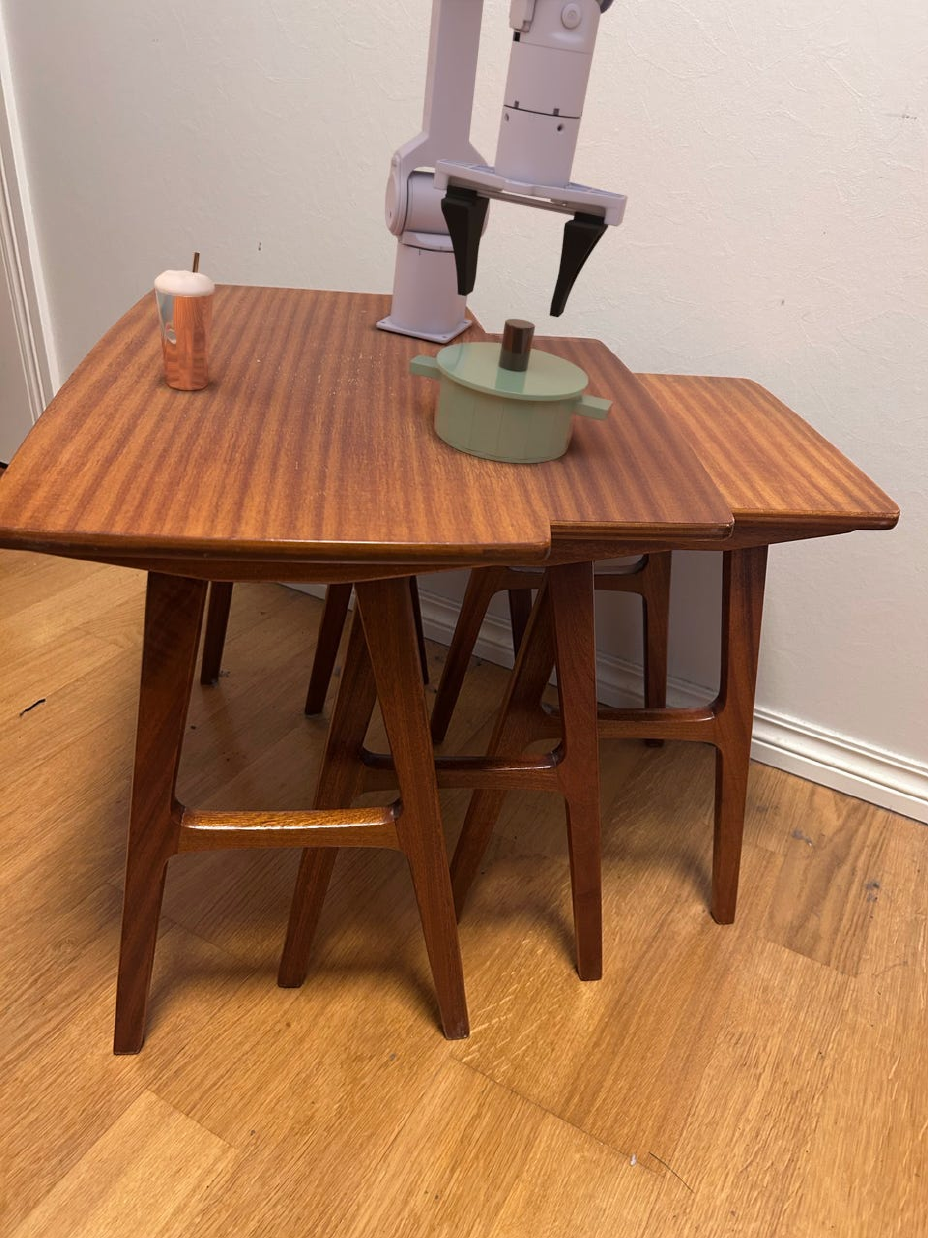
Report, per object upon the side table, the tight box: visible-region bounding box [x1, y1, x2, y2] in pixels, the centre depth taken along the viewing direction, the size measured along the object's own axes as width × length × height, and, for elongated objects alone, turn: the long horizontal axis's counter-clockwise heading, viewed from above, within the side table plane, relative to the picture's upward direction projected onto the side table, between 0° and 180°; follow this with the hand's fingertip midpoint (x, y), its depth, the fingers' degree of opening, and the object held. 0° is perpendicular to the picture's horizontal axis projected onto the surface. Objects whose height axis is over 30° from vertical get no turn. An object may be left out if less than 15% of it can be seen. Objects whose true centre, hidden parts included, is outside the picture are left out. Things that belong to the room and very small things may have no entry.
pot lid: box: [435, 318, 589, 401], centre depth 73 cm, size 12×12×5 cm
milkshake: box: [153, 251, 216, 391], centre depth 75 cm, size 4×5×10 cm
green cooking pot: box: [407, 354, 613, 464], centre depth 76 cm, size 11×17×5 cm
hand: (510, 303), depth 73 cm, fingers open, 7 cm apart
